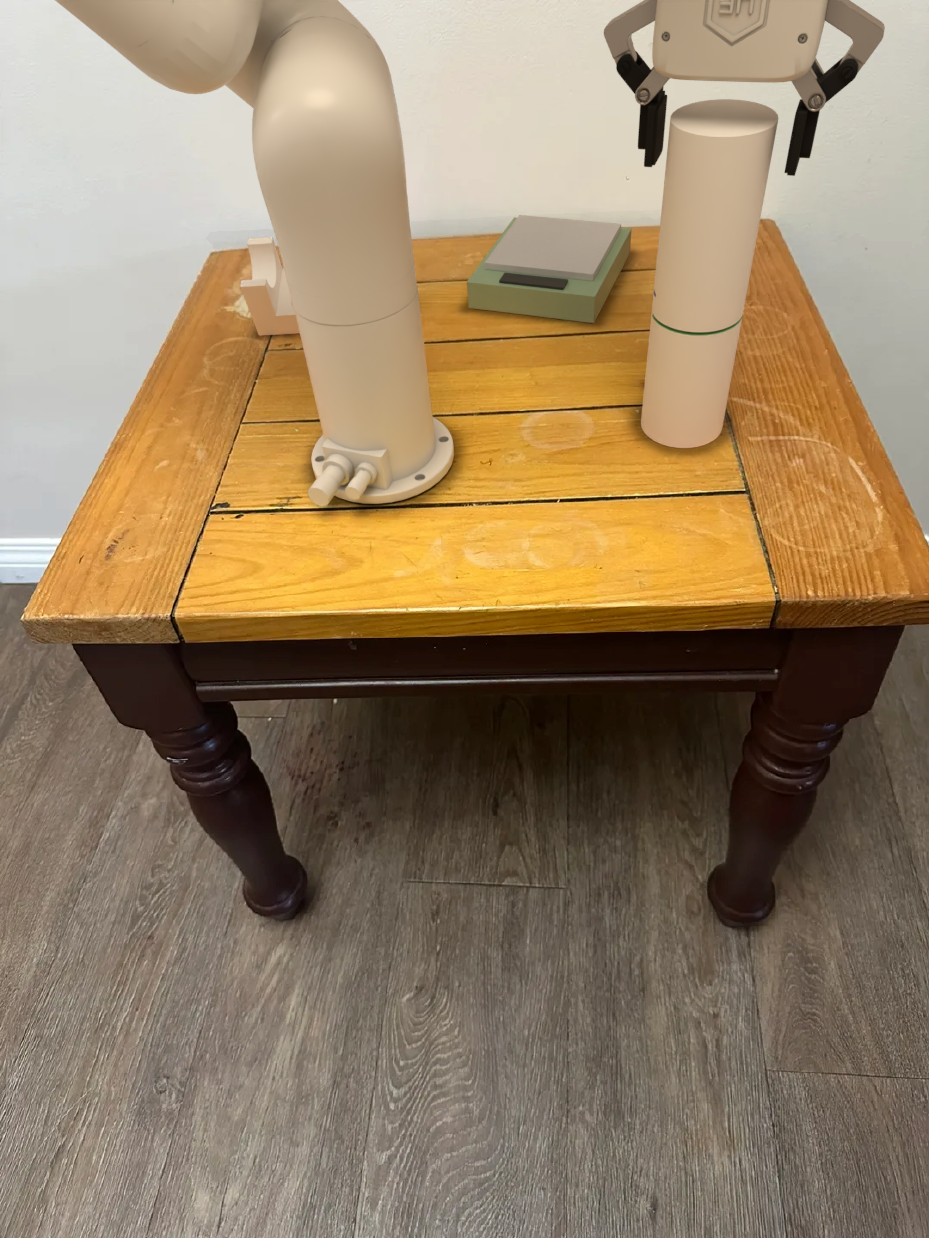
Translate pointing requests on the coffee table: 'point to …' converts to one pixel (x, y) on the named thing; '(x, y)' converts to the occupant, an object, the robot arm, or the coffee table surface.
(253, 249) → the bracket
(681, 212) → the cylindrical container
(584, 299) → the kitchen scale
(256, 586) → the coffee table surface
